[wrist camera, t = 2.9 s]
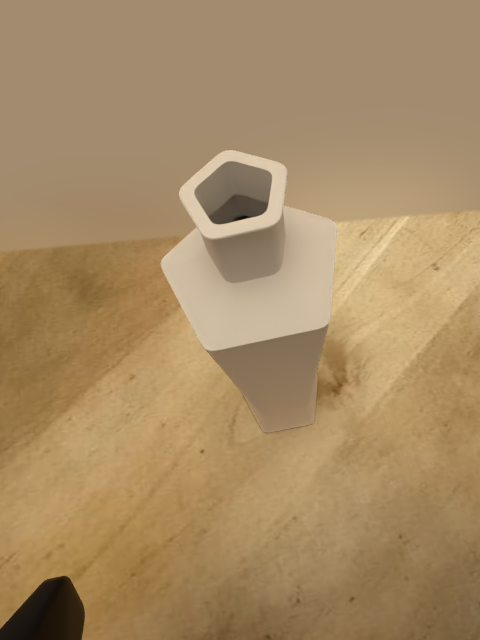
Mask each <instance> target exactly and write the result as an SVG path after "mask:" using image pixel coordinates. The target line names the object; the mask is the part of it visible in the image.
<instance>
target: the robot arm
mask: <svg viewBox="0 0 480 640" xmlns="http://www.w3.org/2000/svg"><path fill="white" fill-rule="evenodd" d="M84 618H85V612H84V606H83V603H82V601H81V599H80V597H79V595H78V593H77V591H76V589H75V587H74V585H73V584H72V582H71V580H70V578H68V577H67V576H61V577H56V578H51V579H47V580H45V581H44V582H43V583H42V584H41V585H40V586H39V587H38V588H37V589H36V590H35V591H34V592H33V594H32V595H31V596H30V597H29V598H28V599H27V600H26V601H25V602H24V603H23V605H22V606H21V607H20V608H19V609H18V610H17V611H16V612H15V613H14V614H13V616H12V617H11V618H10V619H9V620H8V621H7V622H6V623H5V624H4V626H3V627H2V628H1V629H0V640H82V633H83V626H84Z"/></svg>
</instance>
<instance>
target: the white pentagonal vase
mask: <svg viewBox="0 0 480 640" xmlns="http://www.w3.org/2000/svg"><path fill="white" fill-rule="evenodd" d="M286 183H287V169H286V168H285V166H284V165H283V164H281V163H278V162H276V161H272V160H268V159H265V158H261V157H257V156H253V155H249V154H246V153H242V152H238V151H232V150H228V151H224V152H221V153H220V154H218V155H217V156H216V157H215V158H213V159H212V160H211V161H210V162H209V163H208V164H207V165H205V166H204V167H203V168H202V169H201V170H200V171H199V172H197V173H196V174H195V175H194V176H193V177H192V178H191V179H189V180H188V181H187V182H186V183H185V184H184V185H183V186H182V187H181V188H180V192H179V197H180V200H181V202H182V204H183V205H184V207H185V209H186V210H187V212H188V214H189V215H190V217H191V219H192V220H193V222H194V224H195V225H196V228H195V229H194V230H193V231H192V232H191V233H190V234H188V235H187V236H186V237H185V238H184V239H183V240H182V241H181V242H180V243H179V244H177V245H176V246H175V247H174V248H173V249H172V250H171V251H170V252H169V253H167V254H166V255H165V257H164V258H163V259H162V261H161V268H162V271H163V272H164V274H165V276H166V278H167V280H168V282H169V284H170V286H171V288H172V290H173V292H174V294H175V295H176V297H177V299H178V301H179V303H180V305H181V307H182V309H183V311H184V313H185V315H186V316H187V318H188V320H189V322H190V324H191V326H192V328H193V330H194V332H195V334H196V336H197V338H198V339H199V341H200V343H201V345H202V346H203V347H204V348H205V350H206V351H207V352H208V353H209V354H210V355H211V357H212V358H213V359H214V360H215V361H216V362H217V364H218V365H219V366H220V367H221V368H222V369H223V371H224V372H225V373H226V374H227V375H228V376H229V378H230V379H231V380H232V381H233V382H234V383H235V384H236V386H237V387H238V388H239V389H240V390H241V391H242V394H243V396H244V398H245V400H246V402H247V404H248V405H249V407H250V409H251V411H252V413H253V415H254V417H255V418H256V420H257V422H258V424H259V426H260V428H261V429H262V431H263V432H265V433H271V432H276V431H281V430H286V429H291V428H296V427H301V426H306V425H310V424H312V423H313V422H314V420H315V411H316V398H317V386H318V376H317V375H316V373H317V369H318V365H319V361H320V357H321V353H322V349H323V345H324V341H325V337H326V333H327V329H328V325H329V321H330V317H331V307H332V293H333V279H334V265H335V251H336V237H337V226H336V224H335V223H334V221H332V220H330V219H328V218H325V217H321V216H318V215H315V214H311V213H308V212H304V211H301V210H298V209H294V208H291V207H287V206H284V198H285V191H286Z"/></svg>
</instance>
